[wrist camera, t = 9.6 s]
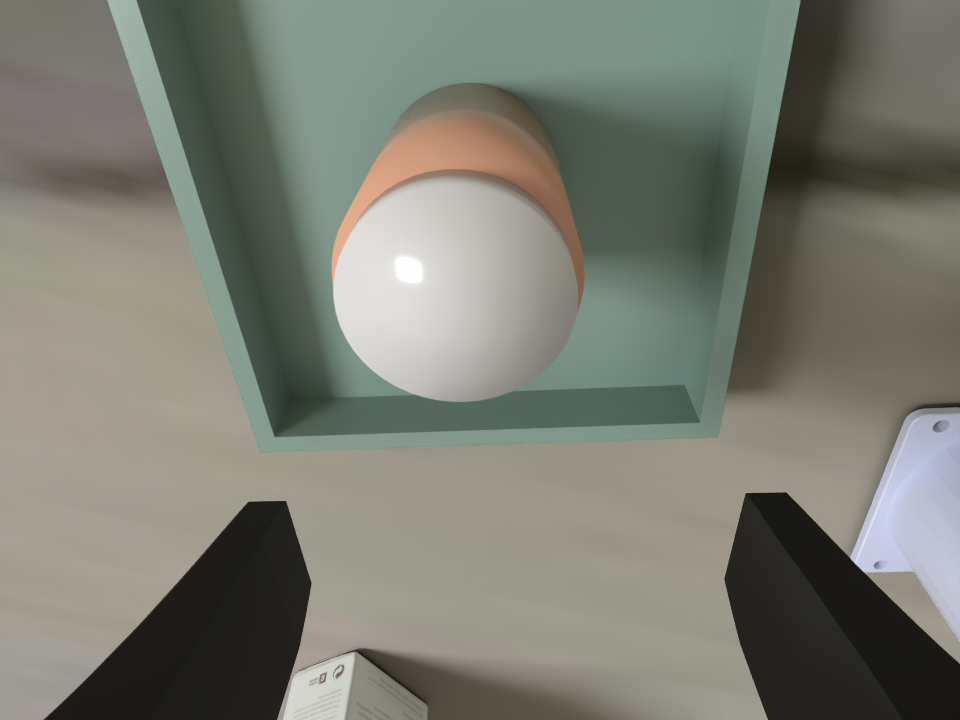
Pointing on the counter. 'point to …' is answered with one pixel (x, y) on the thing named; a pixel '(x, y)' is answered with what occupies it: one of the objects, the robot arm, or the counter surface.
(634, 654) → the counter surface
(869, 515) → the robot arm
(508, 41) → the tray
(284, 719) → the skincare box
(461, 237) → the salt shaker
